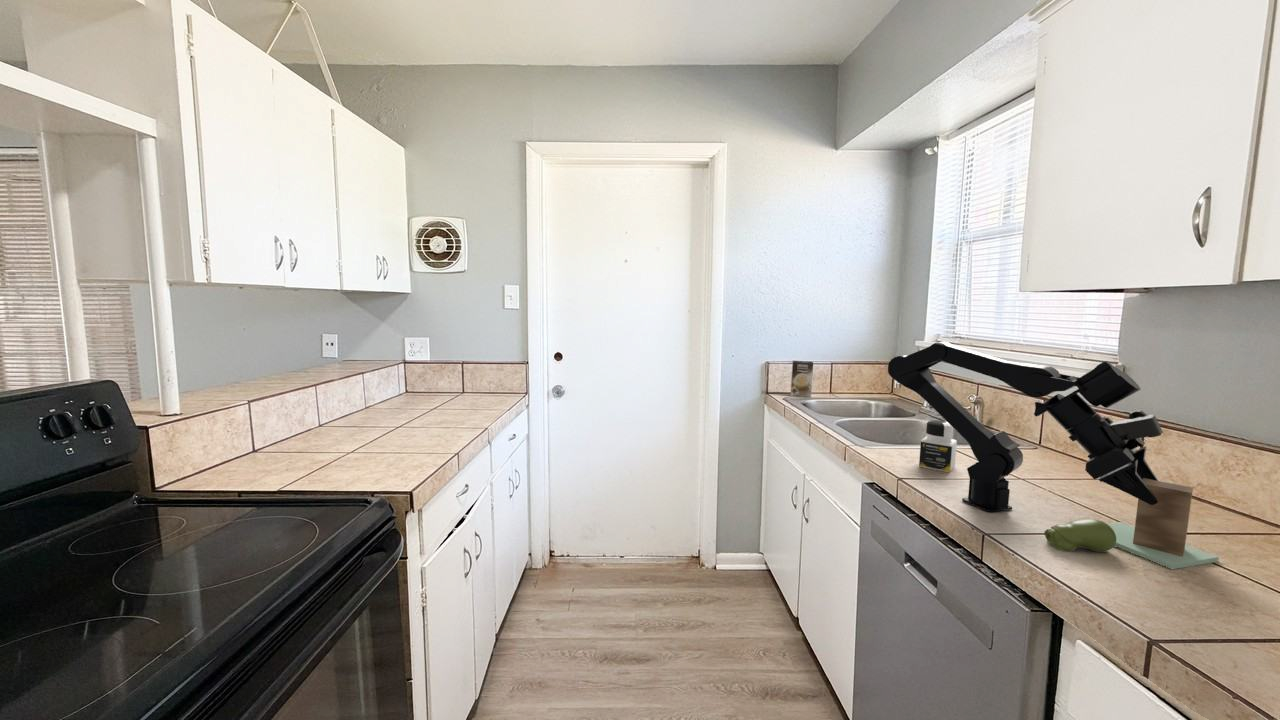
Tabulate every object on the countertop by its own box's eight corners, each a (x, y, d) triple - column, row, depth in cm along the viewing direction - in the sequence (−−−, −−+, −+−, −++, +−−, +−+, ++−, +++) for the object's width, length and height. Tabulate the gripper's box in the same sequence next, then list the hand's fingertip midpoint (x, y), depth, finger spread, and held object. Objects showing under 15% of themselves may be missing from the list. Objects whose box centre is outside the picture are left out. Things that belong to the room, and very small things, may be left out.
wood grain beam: (1132, 543, 89) (1140, 482, 87) (1135, 537, 91) (1143, 478, 90) (1182, 556, 84) (1191, 493, 83) (1184, 549, 87) (1193, 487, 85)
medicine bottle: (918, 466, 133) (921, 421, 131) (924, 460, 138) (927, 417, 137) (950, 472, 128) (953, 426, 127) (955, 466, 133) (958, 421, 132)
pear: (1123, 526, 85) (1056, 531, 86) (1125, 556, 85) (1059, 560, 87) (1099, 512, 90) (1036, 517, 92) (1101, 541, 91) (1039, 545, 92)
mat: (1077, 531, 95) (1078, 527, 95) (1120, 525, 98) (1120, 521, 98) (1171, 569, 82) (1172, 564, 81) (1218, 561, 84) (1218, 556, 84)
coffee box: (790, 396, 232) (792, 361, 230) (790, 394, 238) (791, 360, 236) (811, 397, 230) (813, 362, 228) (811, 395, 236) (812, 361, 234)
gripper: (1120, 403, 83) (1210, 487, 76) (1134, 391, 95) (1214, 463, 88) (1054, 439, 90) (1131, 519, 83) (1075, 424, 102) (1145, 493, 95)
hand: (1158, 497), depth 87 cm, fingers open, 9 cm apart
